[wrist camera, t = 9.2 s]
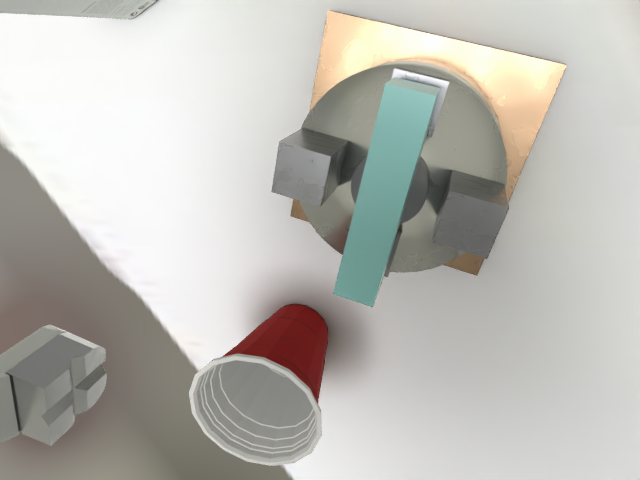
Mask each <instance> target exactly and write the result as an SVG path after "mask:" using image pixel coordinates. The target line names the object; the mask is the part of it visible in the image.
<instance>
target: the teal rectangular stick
mask: <svg viewBox="0 0 640 480" xmlns="http://www.w3.org/2000/svg"><path fill="white" fill-rule="evenodd" d="M440 90H441V88H438V87H433V86H429V85H425V84H421V83H417V82H413V81H409V80H405V79H401V78H396V77H395V78H393V79H392V80H390V81H388V82H387V83H385V87H384V91H383V95H382V99H381V103H380V107H379V111H378V115H377V119H376V123H375V127H374V131H373V135H372V140H371V144H370V148H369V152H368V155H367V156H366V157H365V158H364V160H363V161H362V162H361V163H360V164H359V165H358V167H357V168H356V170H355V172H354V174H353V177H352V180H351V194H352V198H353V201H354V203H355V208H354V212H353V216H352V220H351V224H350V228H349V232H348V236H347V241H346V245H345V249H344V253H343V257H342V261H341V265H340V269H339V273H338V277H337V281H336V285H335V289H334V293H333V294H336V295H339V296H341V297H344V298H347V299H350V300H353V301H356V302H359V303H362V304H365V305H368V306H371V307H373V305H374V302H375V299H376V297H377V294H378V291H379V289H380V286H381V283H382V280H383V277H384V274H385V270H386V267H387V264H388V260H389V257H390V254H391V251H392V247H393V244H394V241H395V237H396V234H397V231H398V228H399V224H401V223H404V222H407V221H409V220H410V219H412V218H413V217H415V216H416V215H417V214H418V213H419V211H420V210H421V209H422V207H423V205H424V203H425V200H426V197H427V193H428V190H429V186H430V173H429V169H428V166H427V164H426V162H425V161H424V159H423V158H422V157H421V156H420V155H421V152H422V149H423V146H424V142H425V139H426V136H427V132H428V129H429V126H430V123H431V119H432V116H433V113H434V109H435V106H436V103H437V100H438V96H439V93H440Z"/></svg>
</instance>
